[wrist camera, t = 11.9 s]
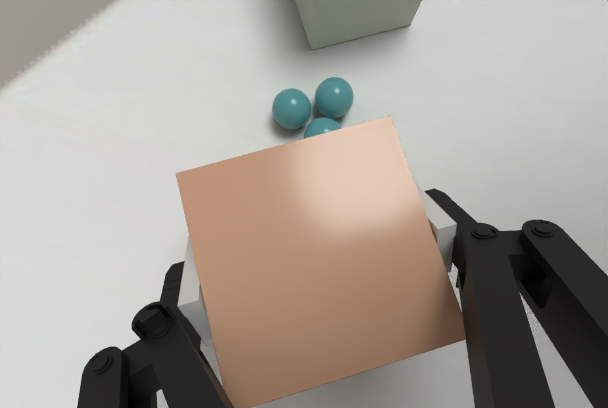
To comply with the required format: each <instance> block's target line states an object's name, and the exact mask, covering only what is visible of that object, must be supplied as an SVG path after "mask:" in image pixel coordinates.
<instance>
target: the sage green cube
mask: <svg viewBox="0 0 608 408" xmlns="http://www.w3.org/2000/svg"><path fill="white" fill-rule="evenodd" d="M421 1H422V0H295V3H296V6H297V9H298V12H299V15H300V18H301V21H302V24H303V27H304V30H305V33H306V36H307V40H308V43H309V46H310V49H311V50H314V49H318V48H322V47H326V46H330V45H333V44H337V43H341V42H345V41H349V40H353V39H357V38H361V37H365V36H369V35H373V34H377V33H381V32H384V31H388V30H392V29H396V28H400V27H404V26H408V25H411V22H412V20H413V18H414V16H415V14H416V12H417V10H418V7H419V5H420V3H421Z"/></svg>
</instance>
